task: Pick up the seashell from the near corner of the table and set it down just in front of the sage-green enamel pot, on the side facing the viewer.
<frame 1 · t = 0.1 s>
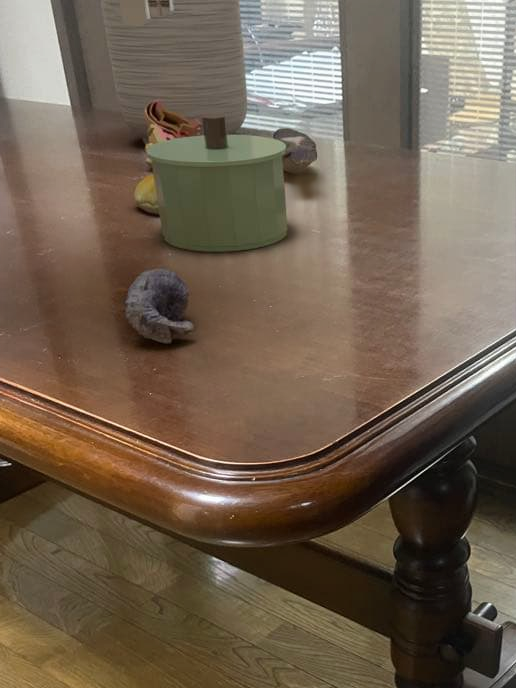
hand: (150, 20, 68), 22 cm above the table, tool pointing down, fingers open, 8 cm apart
bread roll: (173, 208, 108), on the table
seashell: (161, 330, 74), on the table
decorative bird: (297, 179, 121), on the table
pot lid: (217, 152, 93), point 8 cm above the table, touching pot
vase: (188, 142, 142), on the table
pot: (226, 233, 98), on the table
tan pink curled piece: (174, 166, 128), on the table
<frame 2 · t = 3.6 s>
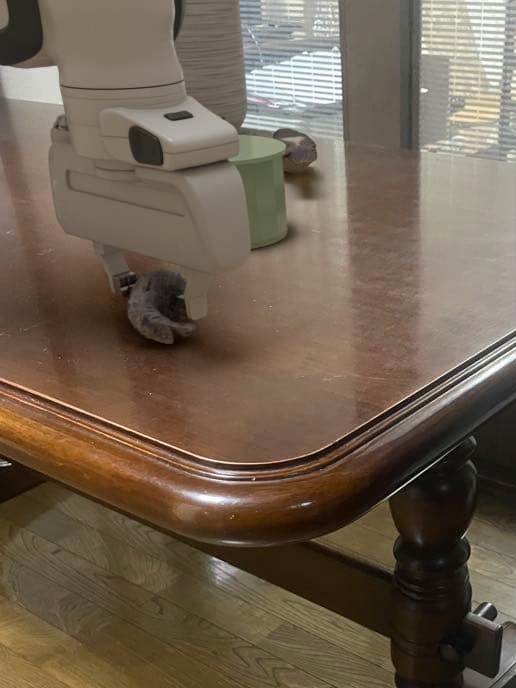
hand: (159, 305, 73), 2 cm above the table, tool pointing down, fingers closed on seashell, 7 cm apart
seashell: (163, 330, 74), on the table, touching gripper
everything else where it was.
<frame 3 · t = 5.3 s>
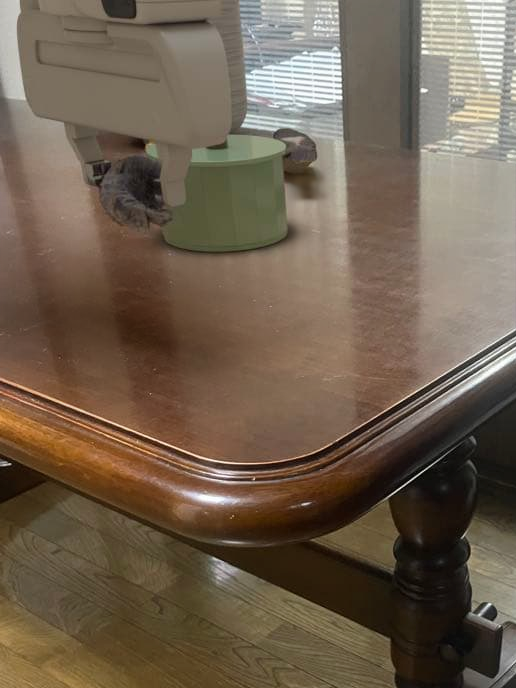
hand: (134, 194, 68), 11 cm above the table, tool pointing down, fingers closed on seashell, 7 cm apart
seashell: (139, 223, 69), point 9 cm above the table, touching gripper
everything else where it was.
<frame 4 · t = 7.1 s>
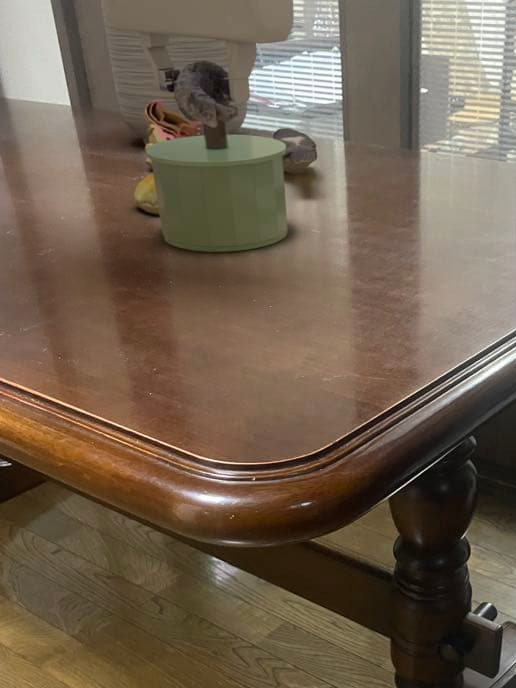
hand: (202, 96, 77), 16 cm above the table, tool pointing down, fingers closed on seashell, 7 cm apart
seashell: (206, 122, 78), point 14 cm above the table, touching gripper
everything else where it was.
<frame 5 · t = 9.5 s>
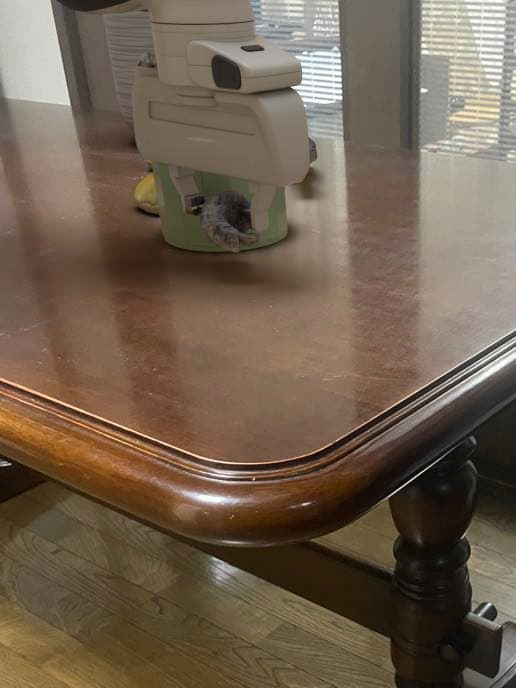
hand: (225, 221, 85), 5 cm above the table, tool pointing down, fingers closed on seashell, 7 cm apart
seashell: (228, 243, 86), point 3 cm above the table, touching gripper
everything else where it was.
when the fingers open (2 cm above the table, at t = 11.1 s): seashell stays where it is, on the table.
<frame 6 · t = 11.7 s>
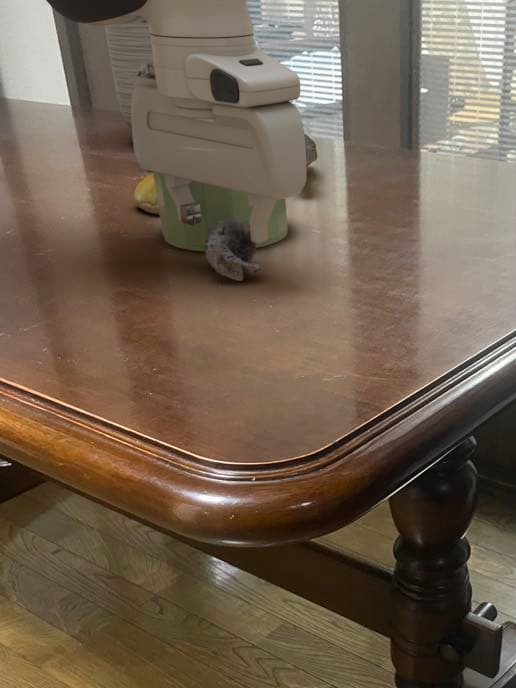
hand: (222, 231, 85), 4 cm above the table, tool pointing down, fingers open, 8 cm apart
seashell: (232, 271, 87), on the table
everything else where it was.
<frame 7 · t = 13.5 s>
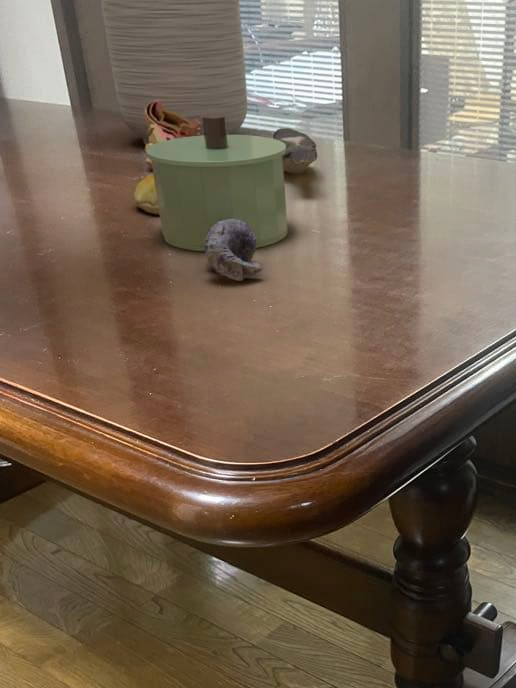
nothing on the table moved.
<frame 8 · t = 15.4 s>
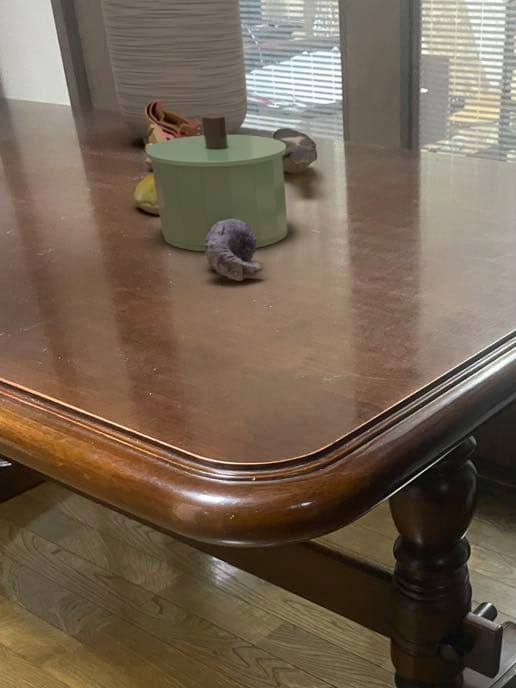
nothing on the table moved.
at the end: seashell inside the target area on the table beside the pot (0.3 cm from its centre), on the table; the gripper is holding nothing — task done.
